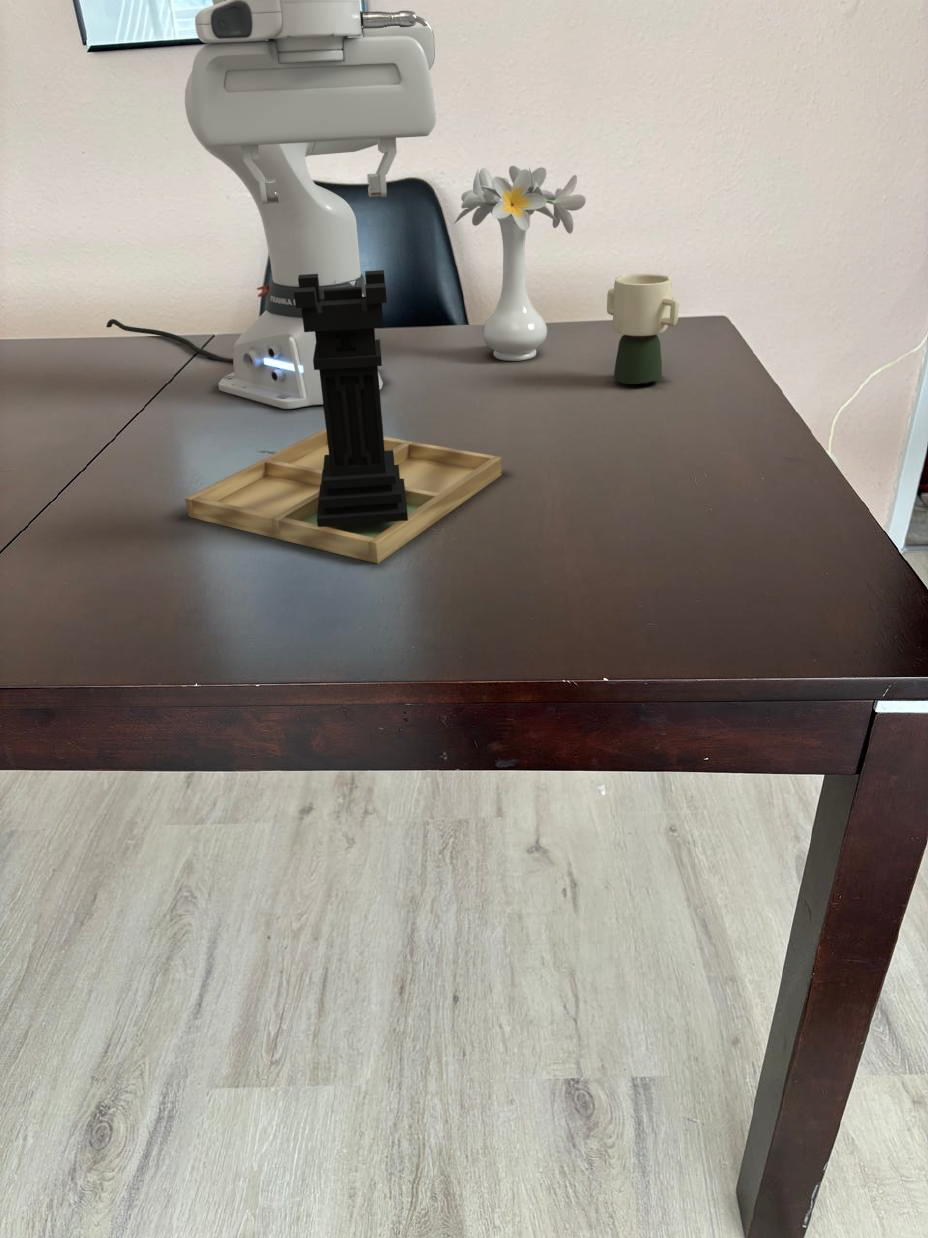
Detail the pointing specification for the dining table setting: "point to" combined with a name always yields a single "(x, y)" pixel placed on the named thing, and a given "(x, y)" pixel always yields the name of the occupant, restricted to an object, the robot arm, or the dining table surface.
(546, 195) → the flower vase
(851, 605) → the dining table surface
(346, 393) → the chess piece
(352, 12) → the robot arm
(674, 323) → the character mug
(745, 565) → the dining table surface
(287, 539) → the grid
